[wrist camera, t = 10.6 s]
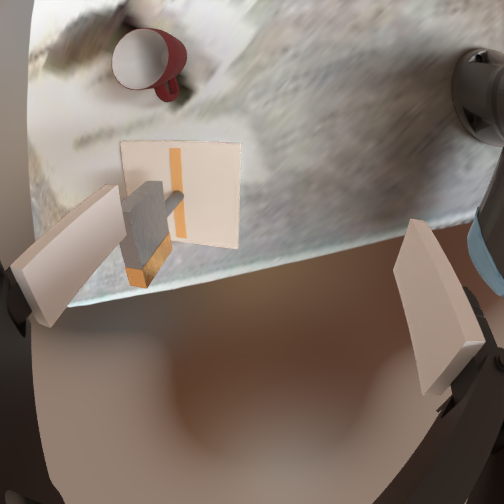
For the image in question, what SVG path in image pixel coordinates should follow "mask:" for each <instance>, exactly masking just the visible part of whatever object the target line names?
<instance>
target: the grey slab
mask: <svg viewBox="0 0 504 504" xmlns="http://www.w3.org/2000/svg"><path fill="white" fill-rule="evenodd" d="M121 207H122V213H123V218H124V223H125V229H126V234H127V235H126V236H125V237H124V238H123V240H122V241H121V242H120V243H119V244H120V248H121V252H122V255H123V259H124V263H125V266H126V267H125V270H126V273H127V277H128V280H129V283H130V286H136V287H141V288H148V286H149V285H150V283H151V281H152V280H153V278H154V277H155V275H156V274H157V272H158V271H159V269H160V267H161V266H162V264H163V263H164V261H165V260H166V258H167V257H168V255H169V254H170V252H171V251H172V243H171V237H170V232H169V229H168V222H167V214H166V207H165V199H164V191H163V183H162V181H146V182H144V183H143V184H142V185H141V186H140V187H139V188H137V189H136V190H135V191H134V192H133V193H131V194H130V195H129V196H128V197H127V198H126V199H124V200H123V201H122V202H121Z"/></svg>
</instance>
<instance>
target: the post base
mask: <svg viewBox="0 0 504 504" xmlns="http://www.w3.org/2000/svg"><path fill="white" fill-rule="evenodd" d="M120 144H121V154H122V162H123V170H124V178H125V185H126V192H127V197H128V196H129V195H130V194H131V193H133V192H134V191H135V190H136V189H137V188H139V187H140V186H141V185H142V184H143V183H144V182H146V181H162V183H163V191H164V199H165V207H166V214H167V222H168V229H169V232H170V237H171V241H178V242H186V243H193V244H201V245H208V246H216V247H223V248H231V249H238V247H239V217H240V177H241V143H230V142H212V141H183V140H134V141H122V142H120Z"/></svg>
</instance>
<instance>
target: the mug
mask: <svg viewBox="0 0 504 504" xmlns="http://www.w3.org/2000/svg"><path fill="white" fill-rule="evenodd" d="M186 60H187V52H186V49H185V47H184V45H183V44H182V42H180V41H179V40H178V39H176V38H175V37H173V36H172V35H170V34H168V33H166V32H164V31H162V30H158V29H152V28H139V29H135V30H133V31H131V32H129V33H127V34H126V35H125V36H123V37H122V38H121V40H120V41H119V42H118V43H117V45H116V47H115V49H114V52H113V55H112V70H113V73H114V76H115V78H116V79H117V81H118V82H119V83H120V84H121V85H122V86H124V87H126V88H128V89H131V90H143V89H150V88H154V89H155V92H156V94H157V96H158V97H159V98H160V99H161V100H162V101H164V102H171V101H174V100H175V99H176V98H177V97H178V94H179V88H178V83H177V80H176V76H177V75H178V74H179V73H180V72H181V71H182V69H183V68H184V66H185V64H186ZM167 81H168V83H169V92H168V91H167V89H166V87H165V83H166V82H167Z"/></svg>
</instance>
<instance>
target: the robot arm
mask: <svg viewBox="0 0 504 504" xmlns="http://www.w3.org/2000/svg"><path fill="white" fill-rule="evenodd" d="M452 97H453V103H454V106H455V109H456V112H457V114H458V117H459V119H460V120H461V122H462V124H463V125H464V127H465V128H466V129H467V130H468V131H469V132H470V133H471V134H472V135H473V136H474V137H476V138H477V139H479V140H481V141H483V142H484V143H486V144H489V145H492V146H497V147H503V149H502V152H501V155H500V158H499V161H498V163H497V166H496V168H495V171H494V174H493V176H492V179H491V181H490V184H489V186H488V188H487V191H486V193H485V195H484V198H483V200H482V202H481V204H480V206H479V207H478V208H477V210H476V214H475V219H474V221H473V224H472V226H471V228H470V231H469V233H468V237H467V243H468V251H469V254H470V257H471V260H472V262H473V264H474V266H475V267H476V269H477V271H478V272H479V274H480V275H481V277H482V278H483V279H484V281H485V282H486V283H487V284H488V286H489V287H491V289H492V290H493V291H494V292H495V293H496V294H497V295H499V296H501V295H502V296H503V298H504V54H503V53H501V52H498V51H495V50H491V49H476V50H473V51H470V52H468V53H467V54H465V55H464V56H463V57H462V58H461V59H460V61H459V62H458V64H457V66H456V68H455V70H454V74H453V79H452ZM126 235H127V234H126V229H125V223H124V218H123V213H122V207H121V201H120V195H119V189H118V185H104V186H103V187H101V188H100V189H99V190H97V191H96V192H95V193H93V194H92V195H91V196H89V197H88V198H87V199H86V200H84V201H83V202H82V203H80V204H79V205H78V206H77V207H75V208H74V209H73V210H72V211H71V212H69V213H68V214H67V215H66V216H64V217H63V218H62V219H61V220H60V221H58V222H57V223H56V224H55V225H54V226H53V227H51V228H50V229H49V230H48V231H47V232H46V233H45V234H43V235H42V236H41V237H40V238H39V239H38V240H37V241H36V242H35V243H34V244H32V245H31V246H30V247H29V248H28V249H27V250H26V251H25V252H24V253H23V254H22V255H21V256H20V257H19V258H18V259H17V260H16V261H15V262H14V263H13V264H12V265H11V266H10V267H9V268H8V269H7V270H6V271H5V270H4V268H3V266H2V264H1V261H0V504H65V503H64V501H63V498H62V496H61V495H60V493H59V492H58V490H57V489H56V488H55V487H54V485H53V484H52V482H51V480H50V478H49V474H48V471H47V466H46V462H45V458H44V453H43V449H42V444H41V438H40V433H39V427H38V421H37V414H36V406H35V397H34V387H33V375H32V355H31V322H30V319H29V318H28V316H29V315H30V314H31V312H32V313H33V314H34V316H35V318H36V320H37V322H38V323H40V324H42V325H45V326H47V327H50V328H51V327H52V325H53V324H54V323H55V321H56V320H57V319H58V317H59V316H60V315H61V313H62V312H63V311H64V309H65V308H66V307H67V305H68V304H69V303H70V302H71V300H72V299H73V298H74V296H75V295H76V294H77V293H78V291H79V290H80V289H81V288H82V286H83V285H84V284H85V283H86V282H87V280H88V279H89V278H90V277H91V275H92V274H93V273H94V272H95V271H96V269H97V268H98V267H99V266H100V265H101V264H102V262H103V261H104V260H105V259H106V258H107V257H108V255H109V254H110V253H111V252H112V251H113V250H114V248H115V247H116V246H117V245H118V244H119V243H120V242H121V241H122V240H123V238H124V237H125V236H126ZM393 272H394V275H395V279H396V282H397V286H398V289H399V293H400V296H401V299H402V303H403V307H404V311H405V315H406V318H407V323H408V327H409V331H410V335H411V340H412V344H413V349H414V353H415V358H416V363H417V368H418V373H419V379H420V385H421V391H422V396H431V395H442V394H443V392H444V391H445V390H446V389H447V388H448V387H449V386H450V385H451V390H452V395H451V396H450V397H449V398H448V399H447V400H446V401H445V402H444V403H443V404H442V406H440V407H439V408H438V409H437V410H436V411H437V412H439V411H440V410H441V412H440V413H439V415H438V417H437V418H436V420H435V422H434V423H433V425H432V426H431V428H430V430H429V431H428V433H427V434H426V436H425V437H424V439H423V440H422V442H421V443H420V445H419V446H418V447H417V449H416V450H415V452H414V453H413V454H412V456H411V457H410V459H409V460H408V461H407V463H406V464H405V465H404V467H403V468H402V469H401V470H400V472H399V473H398V474H397V476H396V477H395V478H394V479H393V480H392V482H391V483H390V484H389V485H388V487H387V488H386V489H385V490H384V491H383V492H382V494H381V495H380V496H379V497H378V498H377V499H376V500H375V501H374V503H373V504H464V503H465V502H466V500H467V498H468V500H467V503H466V504H504V349H503V348H499V347H497V344H496V342H495V340H494V337H493V335H492V332H491V330H490V328H489V325H488V323H487V321H486V318H484V314H483V312H482V310H481V309H480V305H479V303H478V301H477V299H476V297H475V296H474V295H473V294H472V292H471V291H470V290H469V289H468V288H467V287H462V286H461V284H460V282H459V280H458V278H457V276H456V274H455V272H454V270H453V268H452V266H451V265H450V263H449V261H448V259H447V257H446V255H445V253H444V252H443V250H442V248H441V246H440V244H439V243H438V241H437V239H436V238H435V236H434V234H433V232H432V231H431V229H430V227H429V226H428V224H427V222H426V221H422V220H417V219H412V218H410V221H409V225H408V228H407V231H406V234H405V237H404V240H403V243H402V246H401V249H400V252H399V255H398V258H397V260H396V263H395V266H394V269H393ZM468 496H469V497H468Z"/></svg>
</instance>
